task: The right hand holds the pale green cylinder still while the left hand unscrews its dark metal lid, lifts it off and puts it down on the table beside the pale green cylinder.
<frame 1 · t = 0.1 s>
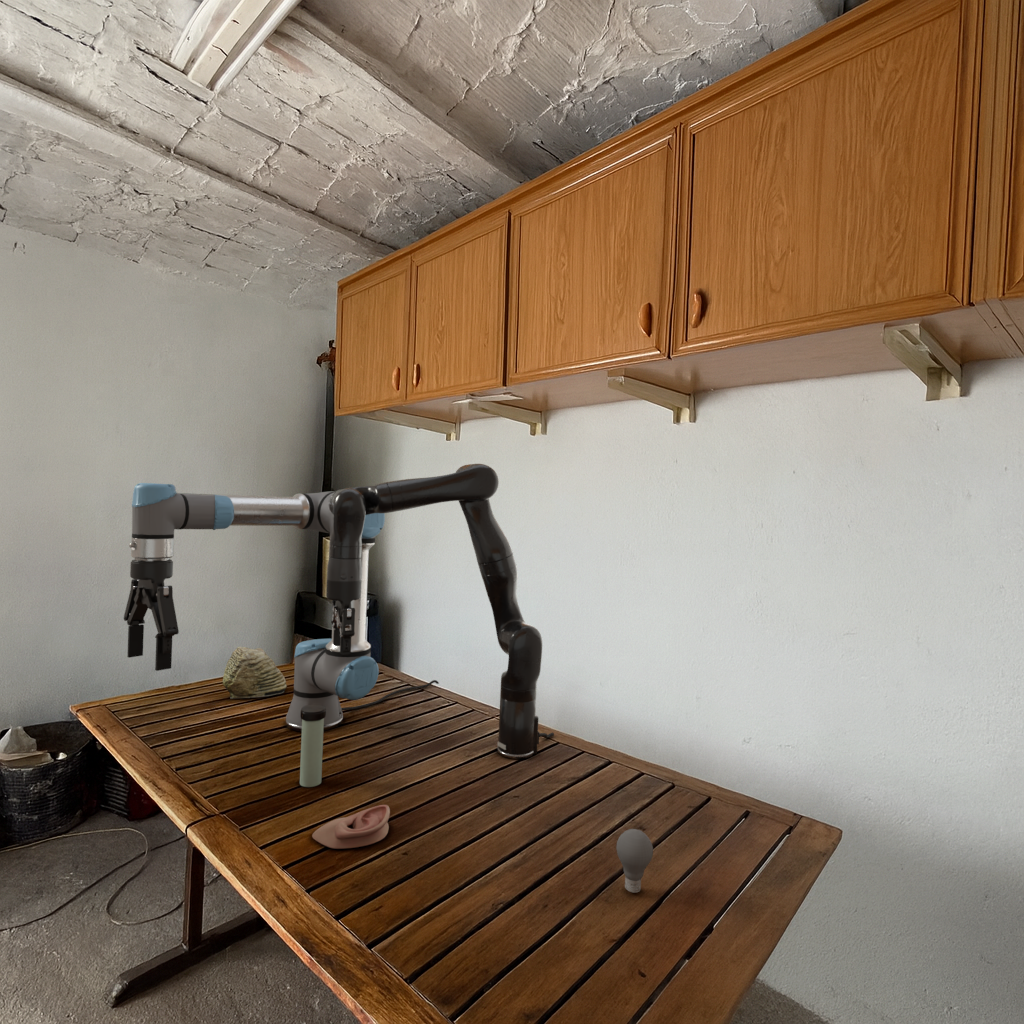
left hand: (148, 662, 129), 28 cm above the table, tool pointing down, fingers open, 13 cm apart
right hand: (341, 649, 142), 29 cm above the table, tool pointing down, fingers open, 8 cm apart
pale green cylinder: (310, 782, 140), on the table
anatomical model: (351, 834, 120), on the table
light bulb: (632, 891, 106), on the table
lid: (313, 709, 140), point 16 cm above the table, screwed on, not yet turned
fossil: (254, 694, 198), on the table
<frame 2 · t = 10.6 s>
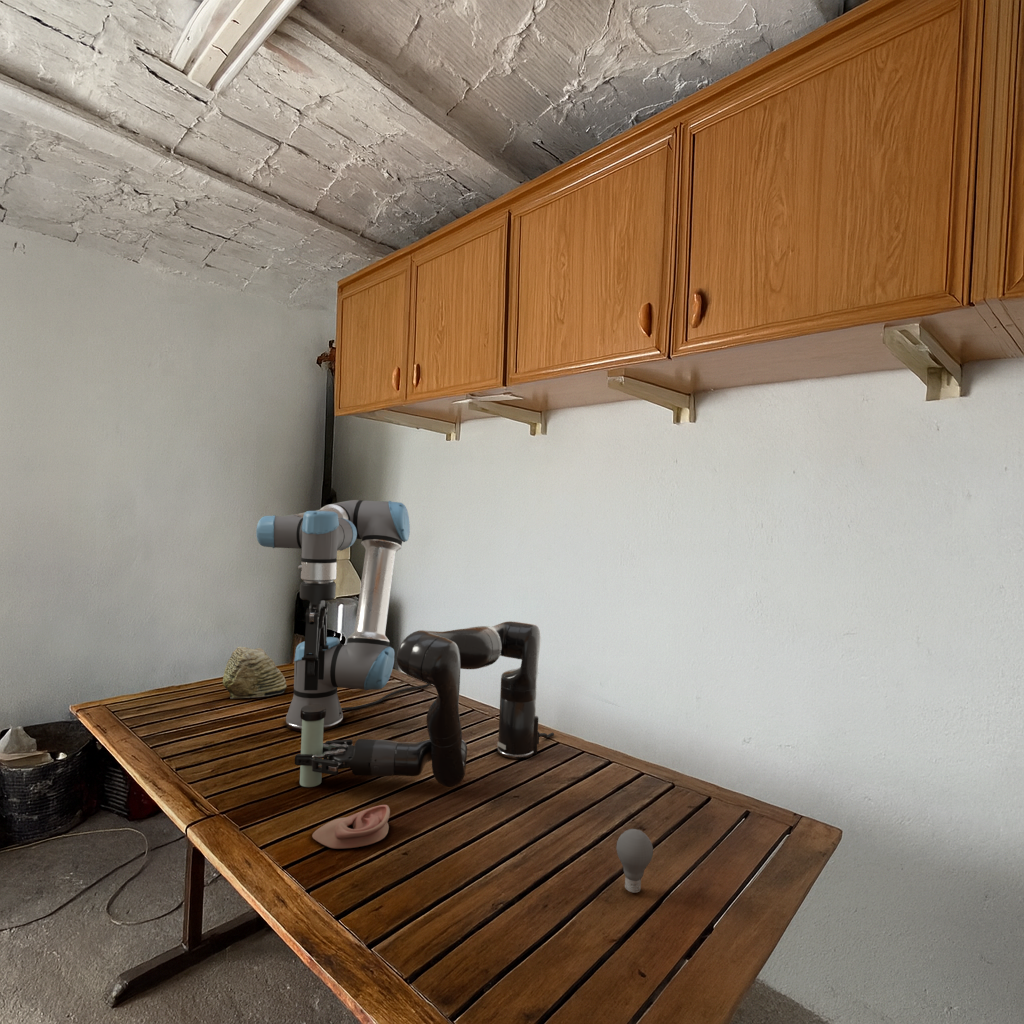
left hand: (314, 684, 140), 22 cm above the table, tool pointing down, fingers open, 7 cm apart
right hand: (299, 754, 140), 6 cm above the table, tool horizontal, fingers closed on pale green cylinder, 4 cm apart
pale green cylinder: (310, 782, 140), on the table, touching right hand
everything else where it was.
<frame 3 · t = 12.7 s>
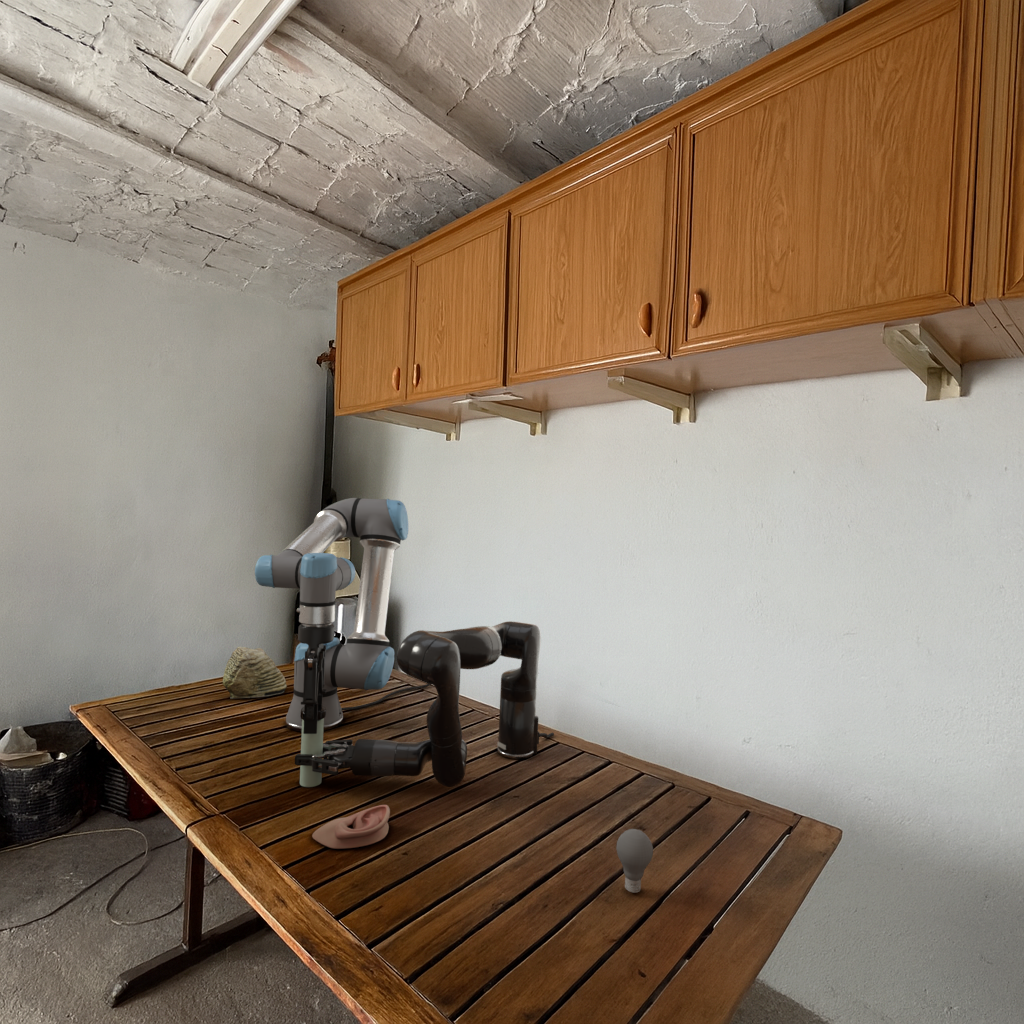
left hand: (312, 728, 140), 12 cm above the table, tool pointing down, fingers closed on lid, 5 cm apart
right hand: (299, 754, 140), 6 cm above the table, tool horizontal, fingers closed on pale green cylinder, 4 cm apart
pale green cylinder: (310, 782, 140), on the table, touching right hand
lid: (313, 709, 140), point 16 cm above the table, screwed on, not yet turned, touching left hand
everything else where it was.
when the left hand's fingers open (12 cm above the table, at t = 13.8 s): lid stays where it is, point 16 cm above the table.
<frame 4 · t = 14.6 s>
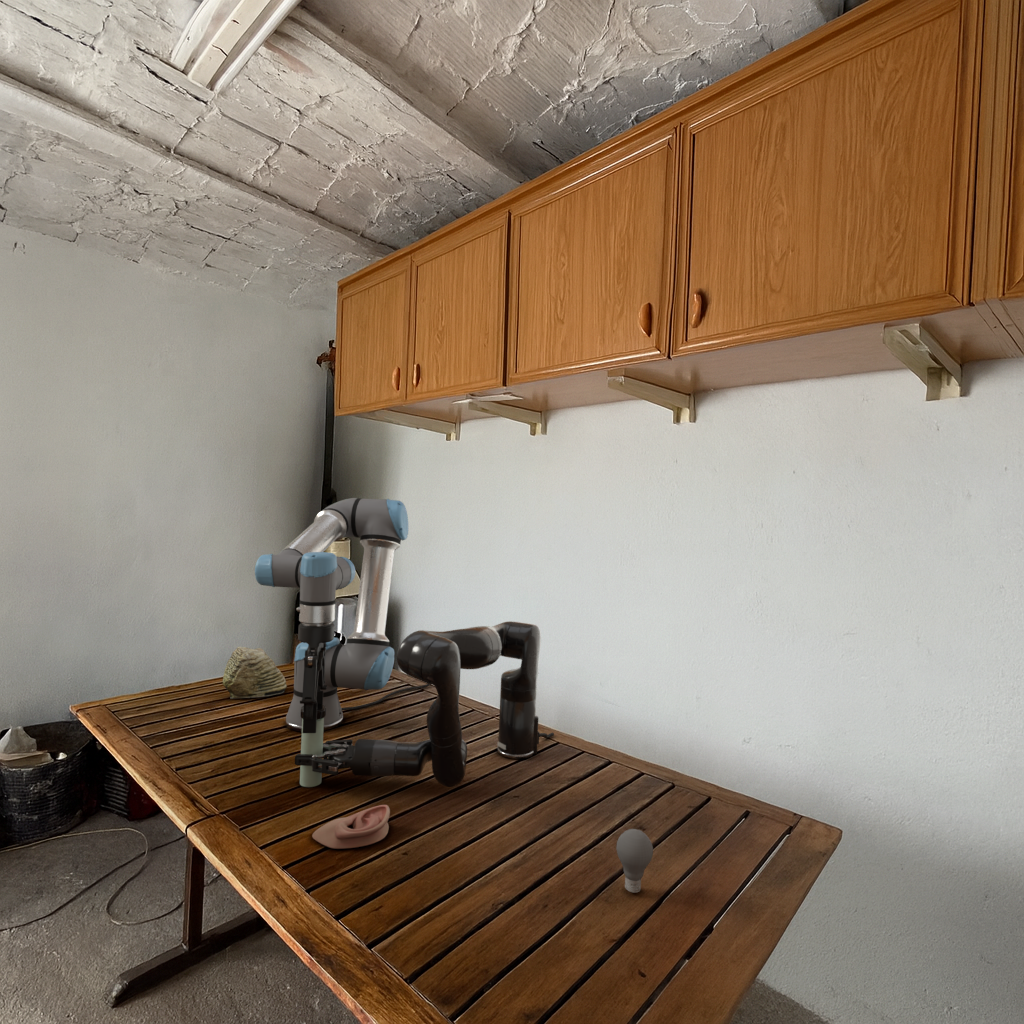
left hand: (312, 725, 140), 13 cm above the table, tool pointing down, fingers open, 7 cm apart
right hand: (299, 754, 140), 6 cm above the table, tool horizontal, fingers closed on pale green cylinder, 4 cm apart
pale green cylinder: (310, 782, 140), on the table, touching right hand
lid: (313, 708, 140), point 16 cm above the table, turned 65° so far, risen 0.2 cm, still on its thread
everything else where it was.
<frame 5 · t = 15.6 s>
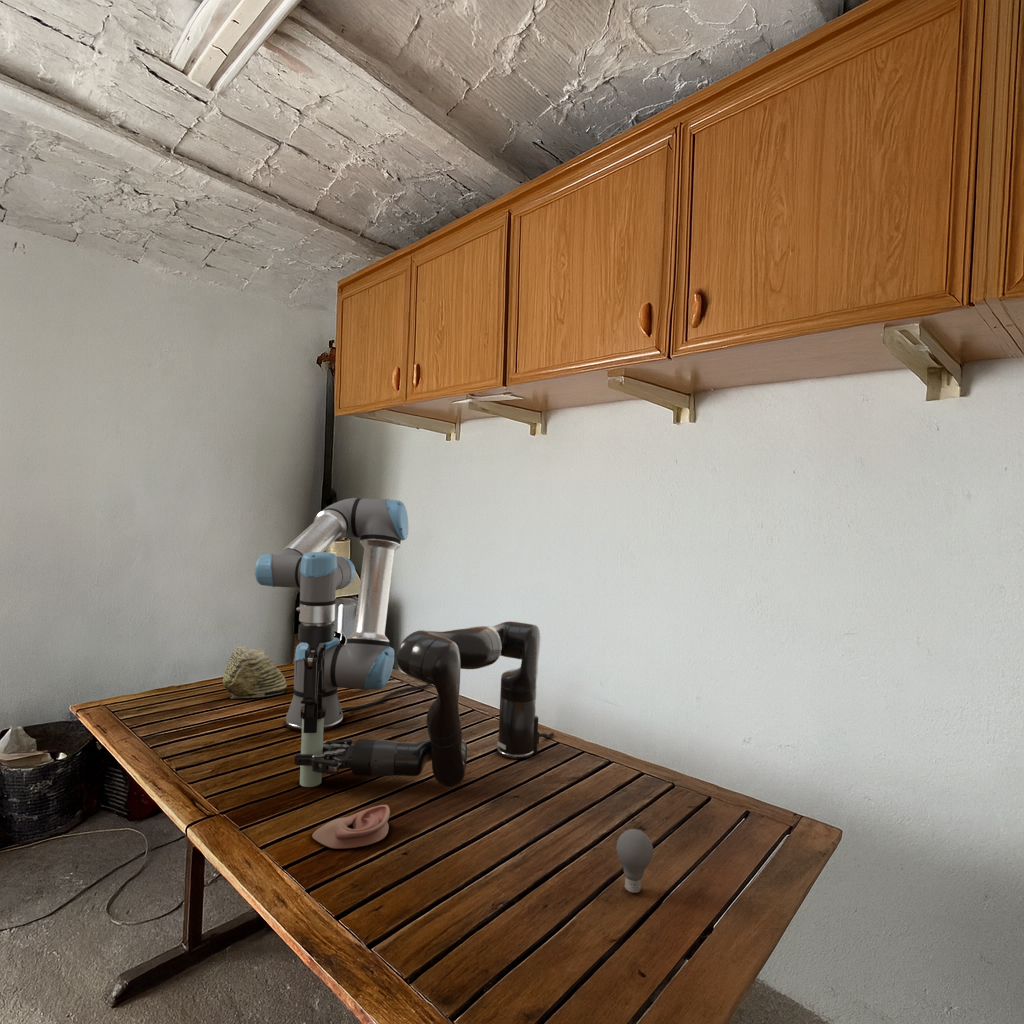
left hand: (312, 727, 140), 12 cm above the table, tool pointing down, fingers closed on lid, 5 cm apart
right hand: (299, 754, 140), 6 cm above the table, tool horizontal, fingers closed on pale green cylinder, 4 cm apart
pale green cylinder: (310, 782, 140), on the table, touching right hand
lid: (313, 708, 140), point 16 cm above the table, turned 65° so far, risen 0.2 cm, still on its thread, touching left hand
everything else where it was.
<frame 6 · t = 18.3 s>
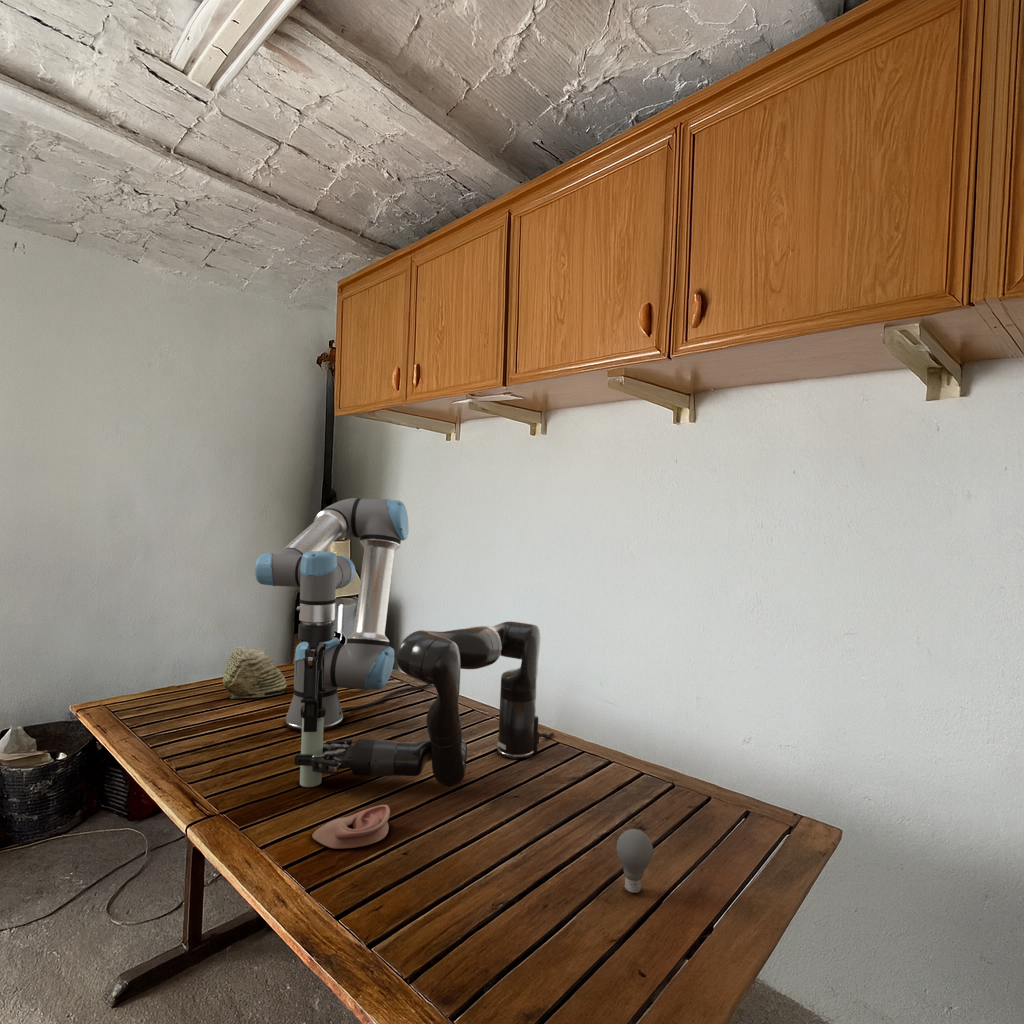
left hand: (312, 726, 140), 13 cm above the table, tool pointing down, fingers closed on lid, 5 cm apart
right hand: (299, 754, 140), 6 cm above the table, tool horizontal, fingers closed on pale green cylinder, 4 cm apart
pale green cylinder: (310, 782, 140), on the table, touching right hand
lid: (313, 708, 140), point 17 cm above the table, turned 131° so far, risen 0.4 cm, still on its thread, touching left hand
everything else where it was.
when the left hand's fingers open (0 cm above the table, at t = 24.9 s): lid drops 2 cm, point 2 cm above the table.
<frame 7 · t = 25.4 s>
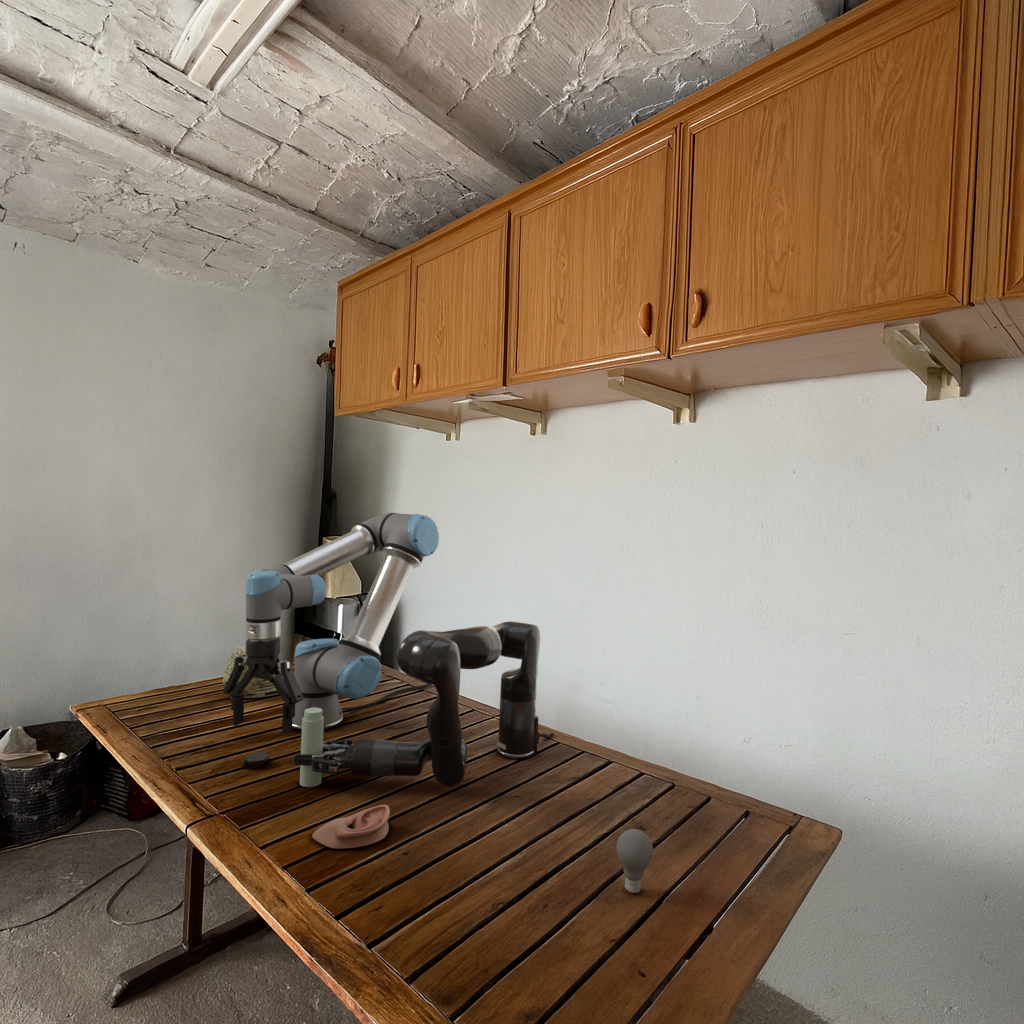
left hand: (262, 727, 149), 8 cm above the table, tool pointing down, fingers open, 13 cm apart
right hand: (299, 754, 140), 6 cm above the table, tool horizontal, fingers closed on pale green cylinder, 4 cm apart
pale green cylinder: (310, 782, 140), on the table, touching right hand
lid: (257, 758, 148), point 2 cm above the table, off its thread
everything else where it was.
when the right hand's fingers open (6 cm above the table, at t = 25.5 s): pale green cylinder stays where it is, on the table.
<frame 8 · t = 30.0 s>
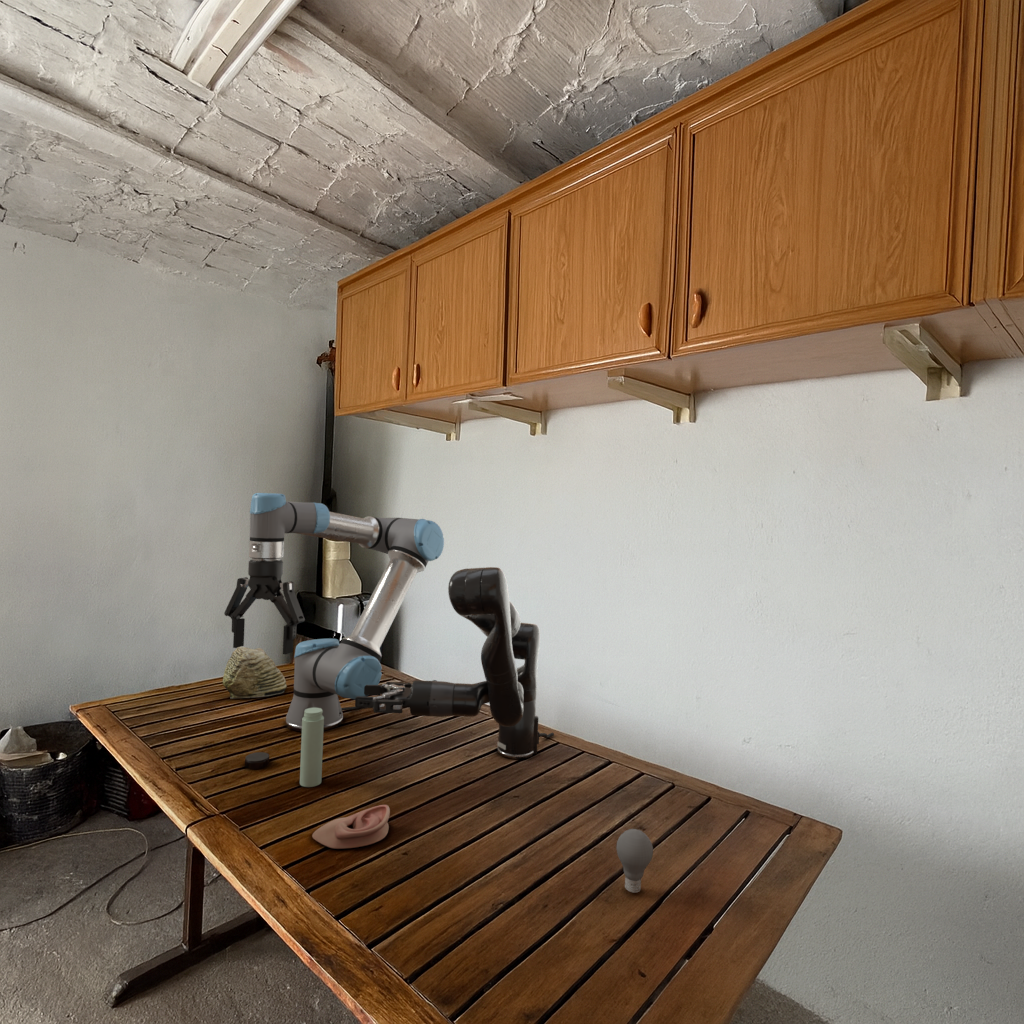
left hand: (262, 650, 148), 27 cm above the table, tool pointing down, fingers open, 13 cm apart
right hand: (360, 695, 140), 20 cm above the table, tool horizontal, fingers open, 8 cm apart
pale green cylinder: (310, 782, 140), on the table
everything else where it was.
at the end: lid came off its thread; lid point 1.6 cm above the table; the left hand is holding nothing; the right hand is holding nothing; pale green cylinder tilted 0°; pale green cylinder moved 0.0 cm from its start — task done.
